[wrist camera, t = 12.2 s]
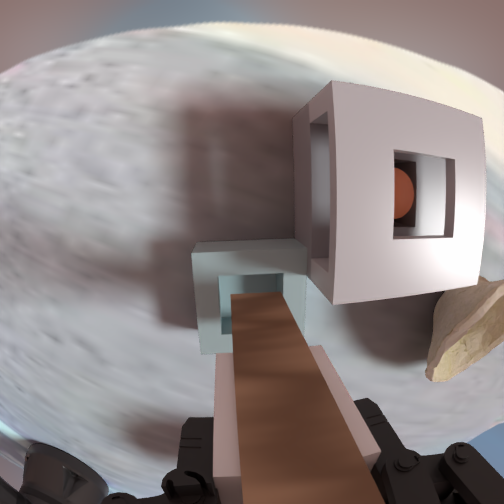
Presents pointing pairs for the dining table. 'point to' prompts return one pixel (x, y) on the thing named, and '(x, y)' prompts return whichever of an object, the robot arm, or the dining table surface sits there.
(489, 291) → the bowl
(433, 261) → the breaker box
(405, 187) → the button
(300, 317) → the holder
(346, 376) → the dining table surface
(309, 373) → the brown wooden bar
